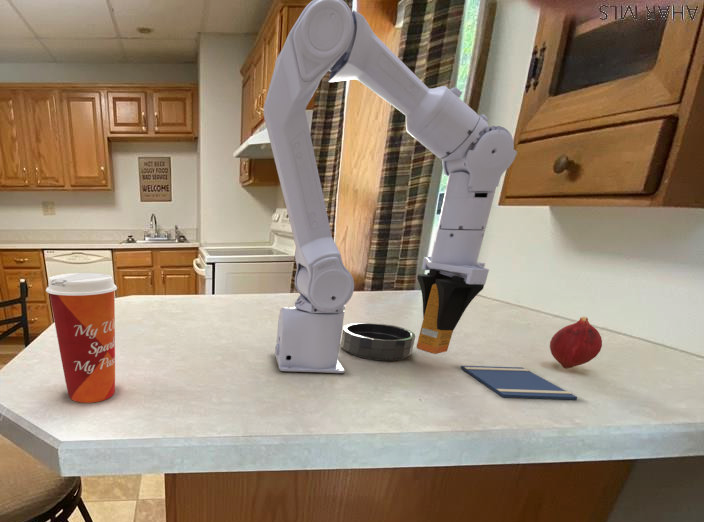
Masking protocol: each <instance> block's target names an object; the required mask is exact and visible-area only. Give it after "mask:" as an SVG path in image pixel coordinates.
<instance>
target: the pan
mask: <svg viewBox="0 0 704 522" xmlns="http://www.w3.org/2000/svg"><path fill="white" fill-rule="evenodd" d="M415 339H416V333H414V332H413V331H412V330H410V329H407V328H404V327H401V326H397V325H392V324H387V323H386V324H385V323H378V322H377V323H376V322H355V323H350V324H349V323H348V324H346V325H344V326H343V327H342V333H341V340H340V347H341V348H342V349H343V350H344V351H345V352H346V353H348V354H350V355H353V356H355V357H358V358H363V359H367V360H373V361H384V362H387V361H400V360H403V359H406V358H407V357H409V356H411V355H412V354H413V350H414V346H415V345H414V344H415Z"/></svg>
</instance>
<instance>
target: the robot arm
mask: <svg viewBox="0 0 704 522" xmlns="http://www.w3.org/2000/svg"><path fill="white" fill-rule="evenodd" d="M328 72H330V75H329V78H328V83H335V82H336V83H337V82H343V81H344V82H345V81H350V80H351V81H352V80H356V81H358V82H359V83H361V85H364V86H365V87H366V88H368V89H369V90H370V91H372V92H373V93H375V94H376V95H377V96H378V97H380V98H381V99H383V101H385V102H387V103H388V104H389V105H390V106H392V107H394V108H395V109H396V110H398V111H399V112H400V113H401V114H403V115H404V116H405V130H406V132H407V134H409V135H410V136H411V137H412V138H413V139H415V140H416V141H418V143H420V144H421V145H422V146H423V147H425V148H426V149H427V150H428V151H430V152H431V153H432V154H433V156H436V157H437V158H438V159H439V160H440V161H441V166H442V170H443V172H444V173H443V174H445V176H447V177H448V179H447V182H446V186H445V192H444V195H443V200H442V205H441V210H440V215H439V218H438V224H437V229H436V234H435V238H434V242H433V247H432V251H431V256H424V257H423V260H422V265H421V270H422V271H428V272H427V273H420V274H417V281H418V285H419V286H420V292H421V297H422V316H423V317H422V318H423V319H424V315H425V311H426V307H427V303H428V300H429V296H430V292H431V288H432V285H433V284H436V286H437V290H438V298H439V307H438V315H437V329H438V330H453V331H455V329H456V327H457V325H458V324H459V322H460V320H461V318H462V316H463V315H464V314H465V313H464V312H465V311H466V309H467V308H468V306H469V305H470V304H471V303H472V301H473V300H474V299H475V298H476V296H477V295H479V294H480V292H482V291H483V290H484V287H485V285H486V283H487V279H488V276H489V272H490V269H489V268H486V263H485V262H480V261H478V260H479V256H480V252H481V249H482V244H483V241H484V236H485V232H486V228H487V225H488V221H489V218H490V214H491V210H492V207H493V206H492V205H493V201H494V197H495V194H496V190H497V187H499V185H500V181H501V178H502V177H503V174H504V173H505V172H506V171H507V170H508V169H509V168H510V167H511V166H512V164H513V162H514V161H515V159H516V158H517V154H518V150H516V149H514V148H515V144H514V139H513V136H512V134H511V132H510V130H508V129H507V128H505V127H503V126H501V125H497V126H496V125H491V126H489V123H488V121H489V117H487V116H486V115H485V114H484V113H482V114H478V113H477V112H476V111H475V110H474V109H472V107H471V106H469V105H468V104H467V103H466V102H464V101H463V100H462V99H461V96H462V94H463V91H461V90H460V89H459V88H458V87H457V86H454V87H452V88H449V87H447V86H446V85H441V86H436V87H433V88H430V87H428V86H427V85H426V84H425V83H424V82H423V81H422V80H421V79H420V78H419V77H418V75H416V74H415V73H414V72H413V71H412V70H411V69H410V68H409V67H408V66H407V65H406V64H405V63H404V62H403V60H401V59H400V58H399V57H398V55H396V53H394V52H393V51H392V50H391V49H390V48H389V47H388V46H387V45H386V44H385V43H384V42H383V40H381V39H380V38H379V37H378V36H377V35H376V34H375V32H374V31H373V28H372V27H371V26H370V24H369V22H368V21H367V19H366V18H365V16H364V15H363V14H361V13H360V12H358V11H356V10H355V9H354V10H351V8H350V6H349V5H348V4H347V2H345V0H311V1H310V2H309V3H308V4H307V5H306V6H305V7H304V9H303V10H302V12H301V13H300V15H299V16H298V18H297V20H296V21H295V23H294V24H293V26H292V28H291V29H290V31H289V32H288V35H287V37H286V39H285V42H284V44H283V46H282V49H281V50H280V52H279V54H278V55H277V57H276V60H275V63H274V67H273V72H272V74H271V75H272V76H271V78H270V83H269V86H268V89H267V93H266V97H265V100H264V104H263V110H262V111H263V118H264V124H265V126H266V131H267V135H268V138H269V144H270V147H271V152H272V155H273V160H274V163H275V166H276V171H277V176H278V181H279V184H280V188H281V192H282V196H283V199H284V200H283V201H284V204H285V208H286V212H287V216H288V220H289V224H290V229H291V234H292V237H293V241H294V245H295V250H294V260H295V264H296V271H295V275H294V285H295V290H296V291H297V292H298V294H299V296H298V298H297V299H296V301H295V302H294V306H290V307H281V308H280V310H279V314H278V320H277V329H276V330H277V333H276V342H275V351H274V356H275V357H274V358H275V359H276V364H277V366H278V370H279V371H281V372H295V373H296V372H300V373H328V374H329V373H331V374H344V373H345V371H346V370H345V367H344V366H343V365H342V364H341V362H340V361H339V353H340V347H341V341H342V334H343V327H344V326H343V325H344V320H345V319H344V318H345V312H346V305H347V304H348V303H349V301H350V300H351V299H352V297H353V293H354V291H355V281H354V277H353V275H352V273H351V272H350V271H349V270H348V269H347V268H346V266H345V265H344V263H343V259H342V255H341V252H340V250H339V248H338V246H337V244H336V242H335V241H334V238H333V235H332V230H331V225H330V220H329V216H328V212H327V207H326V202H325V197H324V192H323V188H322V183H321V178H320V175H319V174H320V173H319V169H318V165H317V160H316V155H315V150H314V145H313V141H312V136H311V131H310V128H309V127H310V126H309V121H308V118H307V117H308V116H307V112H306V111H307V107H308V105H309V103H310V101H311V100H312V98H313V96H314V94H315V93H316V91H317V89H318V87H319V85H320V83H321V80H322V79H323V78H324V76H325V75H326V74H327V73H328ZM423 319H422V320H423Z"/></svg>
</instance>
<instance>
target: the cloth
mask: <svg viewBox="0 0 704 522" xmlns="http://www.w3.org/2000/svg"><path fill="white" fill-rule="evenodd" d="M460 369H462V370H463V371H464V372H466V373H467V374H469V375H470V376H472V377H473V378H474V379H475V380H477V381H479V382H480V383H482V384H483V385H485V386H486V387H487V388H489V389H490V390H492V391H493V392H494V393H496V394H497V395H499V396H501V397H502V398H511V399H512V398H513V399H515V398H516V399H539V400H540V399H542V400H546V399H547V400H568V401H570V400H572V401H576V400H577V399H578V397H577V396H576V395H574V394H573V393H572V392H570V391H569V390H567V391H566V390H565V389H563V388H561V387H559V386H557V385H556V384H554V383H552V382H551V381H549V380H546V379H545V378H543V377H541V376H539V375H537V374H535V373H534V372H532V371H531V370H530V369H529V368H524V367H523V366H522V367H517V366H487V365H486V366H485V365H460Z"/></svg>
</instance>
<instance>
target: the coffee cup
mask: <svg viewBox="0 0 704 522" xmlns="http://www.w3.org/2000/svg"><path fill="white" fill-rule="evenodd" d="M117 289H118V286H117V285H116V284H115V282H114V278H113V277H112V275H111V274H106V273H101V272H100V273H99V272H74V273H73V272H72V273H63V274H56V275H52V276H49V278H48V286H47V287H46V289H45V292H46V293H48V294H49V300H50V305H51V311H52V317H53V322H54V326H55V332H56V338H57V342H58V343H57V344H58V350H59V355H60V360H61V365H62V370H63V371H62V372H63V375H64V376H63V377H64V380H65V385H66V386H65V387H66V391H67V395H68V397H69V399H70V400H72V401H73V402H77V403H83V404H89V403H90V404H91V403H98V402H103V401H105V400H109V399H111V398H112V397H113V396H114V395H115V391H116V317H115V316H116V315H115V314H116V310H115V309H116V307H115V306H116V305H115V302H116V301H115V300H116V299H115V292H116V291H117Z"/></svg>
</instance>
